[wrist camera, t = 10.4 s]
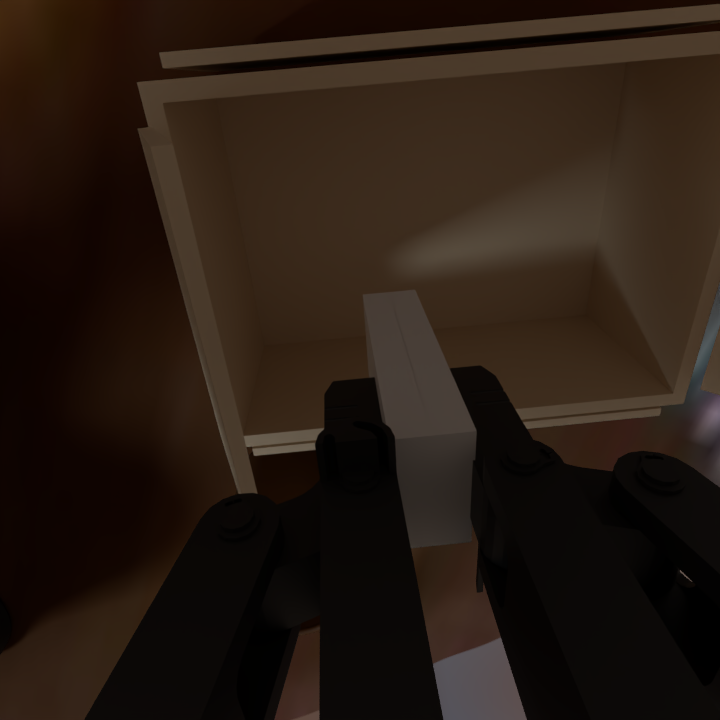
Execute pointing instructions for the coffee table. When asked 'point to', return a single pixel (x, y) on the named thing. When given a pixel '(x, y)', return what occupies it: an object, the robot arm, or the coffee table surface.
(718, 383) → the flap
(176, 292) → the coffee table surface
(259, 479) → the mug
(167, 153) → the flap
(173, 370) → the coffee table surface
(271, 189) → the carton
